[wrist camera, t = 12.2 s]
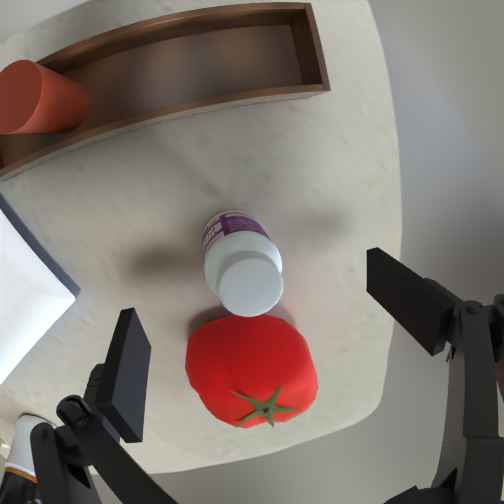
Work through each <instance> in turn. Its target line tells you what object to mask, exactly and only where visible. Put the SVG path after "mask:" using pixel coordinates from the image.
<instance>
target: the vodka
mask: <svg viewBox="0 0 504 504" xmlns="http://www.w3.org/2000/svg"><path fill="white" fill-rule="evenodd" d="M41 422H48V421H46V420H44V419H42V418H39V417H35V416H30V415H24V416H22V417H20V418H19V419H18V420H17V423H16V426H15V434H14V438H13V442H12V446H11V450H10V454H9V456H8V459H7V462H6V463H5V464H4V465H5V470H4V473H3V477H2V480H1V484H0V504H42V503H41V499H40V495H39V490H38V486H37V481H36V476H35V471H34V465H33V459H32V452H31V445H30V433H31V430H32V429H33V428H34V426H35V425H37V424H39V423H41ZM48 423H49V422H48ZM49 424H51V423H49ZM51 425H52V426H53V428H57V427H55V426H54V425H53V424H51Z"/></svg>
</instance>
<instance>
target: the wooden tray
mask: <svg viewBox="0 0 504 504" xmlns="http://www.w3.org/2000/svg"><path fill="white" fill-rule="evenodd" d="M35 63H36V64H39V65H41V66H43V67H45V68H48V69H50V70H52V71H54V72H56V73H59V74H61V75H63V76H65V77H67V78H69V79H71V80H73V81H76V82H78V83H80V84H81V85H83V86H84V87H85V88H86V89H87V91H88V93H89V96H90V109H89V112H88V115H87V117H86V119H85V120H84V122H83V123H82V124H81V125H80V126H79V127H78V128H77V129H75V130H74V131H72V132H69V133H65V134H49V133H34V134H1V133H0V182H2V181H5V180H7V179H9V178H11V177H13V176H15V175H17V174H19V173H21V172H24V171H26V170H28V169H30V168H32V167H34V166H37V165H39V164H41V163H44V162H46V161H48V160H51V159H53V158H56V157H58V156H60V155H63V154H65V153H68V152H71V151H73V150H76V149H79V148H81V147H84V146H87V145H89V144H92V143H95V142H98V141H101V140H104V139H107V138H110V137H113V136H116V135H119V134H123V133H126V132H129V131H133V130H136V129H139V128H143V127H147V126H150V125H154V124H158V123H162V122H166V121H170V120H174V119H178V118H182V117H187V116H191V115H196V114H200V113H205V112H210V111H215V110H221V109H226V108H232V107H238V106H244V105H251V104H258V103H265V102H273V101H281V100H291V99H301V98H310V97H313V96H316V95H319V94H322V93H326V92H329V91H331V90H330V84H329V79H328V74H327V69H326V64H325V59H324V55H323V50H322V46H321V41H320V37H319V33H318V29H317V25H316V21H315V17H314V13H313V9H312V6H311V3H300V2H272V3H250V4H237V5H227V6H218V7H210V8H203V9H197V10H191V11H185V12H180V13H175V14H170V15H165V16H161V17H157V18H153V19H149V20H145V21H141V22H137V23H134V24H130V25H127V26H124V27H120V28H117V29H114V30H111V31H108V32H105V33H102V34H99V35H97V36H94V37H91V38H89V39H86V40H83V41H81V42H78V43H76V44H74V45H71V46H69V47H66V48H64V49H62V50H60V51H58V52H55V53H53V54H51V55H49V56H47V57H45V58H43V59H41V60H39V61H37V62H35Z"/></svg>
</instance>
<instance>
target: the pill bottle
mask: <svg viewBox="0 0 504 504" xmlns="http://www.w3.org/2000/svg"><path fill="white" fill-rule="evenodd" d="M202 253H203V263H204V274H205V278H206V281H207V284H208V286H209V287H210V289H211V290H212V292H213V293H214V294H215V295H216V296H217V297H219V298H220V301H221V302H222V304H223V305H224V307H225V308H226V309H227V310H229V311H230V312H232V313H234V314H236V315H239V316H244V317H252V316H257V315H260V314H263V313H265V312H267V311H268V310H270V309H271V308H272V307H273V306H274V305H275V304H276V303H277V302H278V300H279V298H280V296H281V294H282V291H283V278H282V275H281V270H282V262H281V257H280V254H279V251H278V249H277V247H276V246H275V244H274V243H273V242H272V240H271V239H270V238H269V236H268V235H267V234H266V232H265V231H264V230H263V228H262V227H261V226H260V225H259V223H258V222H257V221H256V220H255V219H254V218H253V217H252V216H250V215H249V214H247V213H245V212H243V211H238V210H228V211H224V212H221V213H219V214H217V215H216V216H214V217H213V218H212V219H211V220H210V221H209V222H208V224H207V225H206V227H205V229H204V231H203V235H202Z"/></svg>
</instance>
